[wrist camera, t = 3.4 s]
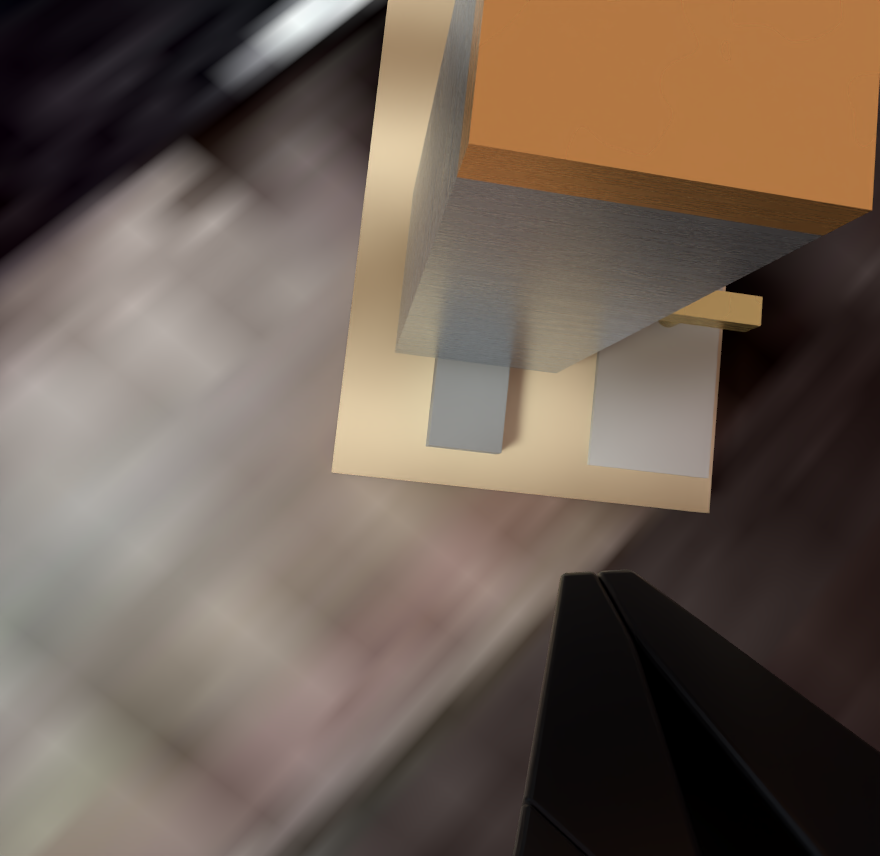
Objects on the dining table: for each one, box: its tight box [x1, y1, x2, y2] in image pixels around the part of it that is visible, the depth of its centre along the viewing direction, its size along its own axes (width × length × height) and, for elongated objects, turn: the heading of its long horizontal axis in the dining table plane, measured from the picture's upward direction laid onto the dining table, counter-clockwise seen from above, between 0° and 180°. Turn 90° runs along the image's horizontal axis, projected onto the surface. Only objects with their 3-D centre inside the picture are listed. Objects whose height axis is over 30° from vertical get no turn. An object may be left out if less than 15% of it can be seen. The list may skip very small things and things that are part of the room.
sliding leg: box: [395, 0, 880, 373], centre depth 14 cm, size 4×10×12 cm, turn 84°
